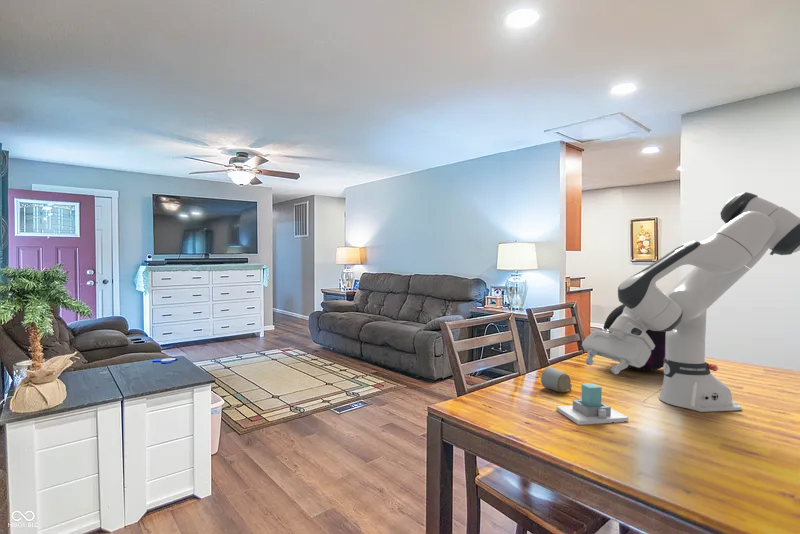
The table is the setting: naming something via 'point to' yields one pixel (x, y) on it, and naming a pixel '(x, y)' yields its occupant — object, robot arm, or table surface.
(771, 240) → the robot arm
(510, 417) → the table surface
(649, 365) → the black purple ball
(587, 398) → the block
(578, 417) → the housing plate
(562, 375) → the ceramic mug
